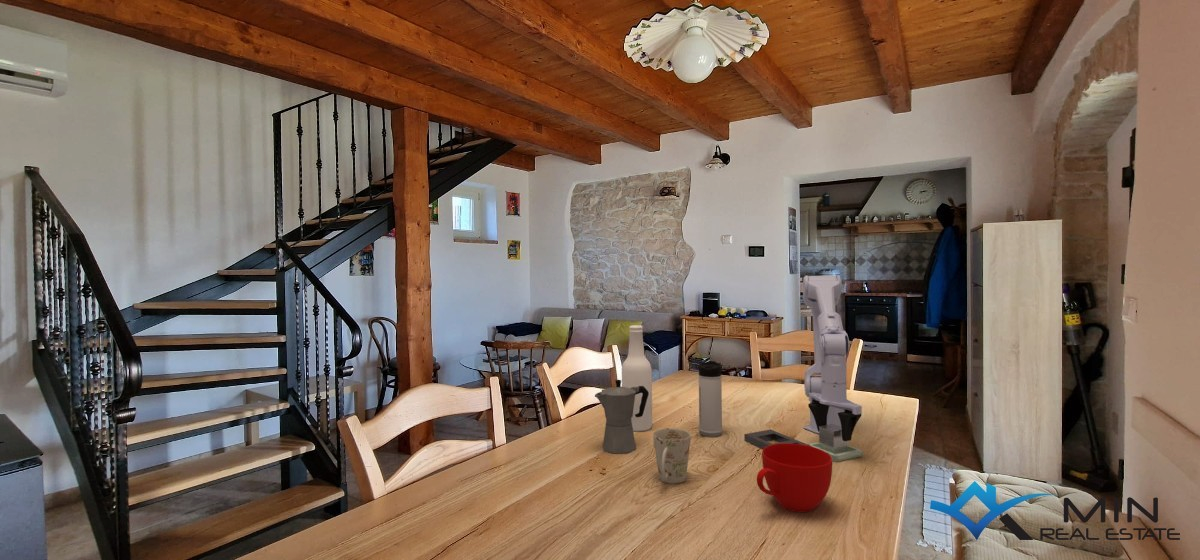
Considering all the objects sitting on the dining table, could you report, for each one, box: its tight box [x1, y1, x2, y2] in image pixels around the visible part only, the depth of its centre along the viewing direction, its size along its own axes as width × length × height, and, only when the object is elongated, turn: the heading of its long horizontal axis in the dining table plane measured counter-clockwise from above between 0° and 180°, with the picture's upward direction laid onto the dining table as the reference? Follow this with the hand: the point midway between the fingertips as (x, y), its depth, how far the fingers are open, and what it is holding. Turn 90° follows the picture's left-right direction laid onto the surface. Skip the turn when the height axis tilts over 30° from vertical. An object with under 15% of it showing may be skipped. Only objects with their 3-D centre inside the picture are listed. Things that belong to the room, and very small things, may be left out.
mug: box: [652, 427, 692, 484], centre depth 113 cm, size 8×13×10 cm, turn 161°
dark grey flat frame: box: [743, 429, 829, 454], centre depth 131 cm, size 20×9×2 cm, turn 23°
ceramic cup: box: [756, 443, 833, 513], centre depth 101 cm, size 13×17×10 cm
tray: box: [807, 441, 864, 463], centre depth 128 cm, size 9×9×2 cm
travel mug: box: [698, 360, 723, 438], centre depth 145 cm, size 6×7×20 cm
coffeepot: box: [594, 379, 649, 455], centre depth 135 cm, size 15×9×18 cm, turn 113°
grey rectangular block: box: [818, 424, 848, 455], centre depth 128 cm, size 4×4×6 cm
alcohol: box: [621, 324, 653, 432], centre depth 151 cm, size 9×9×30 cm
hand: (834, 435), depth 128 cm, fingers open, 7 cm apart
